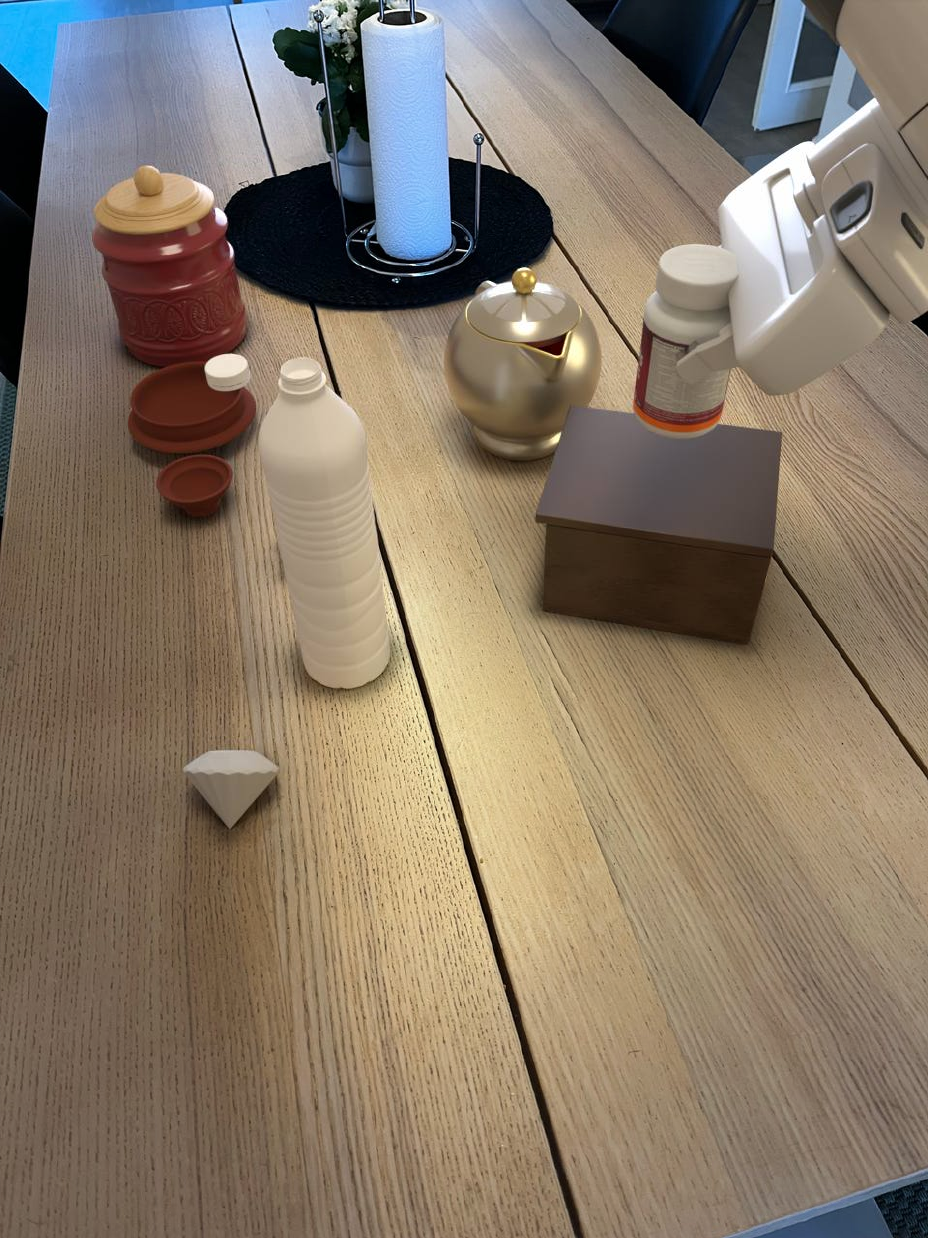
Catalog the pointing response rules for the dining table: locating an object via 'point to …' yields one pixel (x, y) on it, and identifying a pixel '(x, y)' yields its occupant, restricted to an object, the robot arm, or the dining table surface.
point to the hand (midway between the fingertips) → (679, 339)
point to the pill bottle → (683, 341)
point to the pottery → (189, 431)
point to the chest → (652, 583)
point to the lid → (664, 483)
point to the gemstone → (231, 780)
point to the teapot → (521, 364)
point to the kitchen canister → (169, 269)
